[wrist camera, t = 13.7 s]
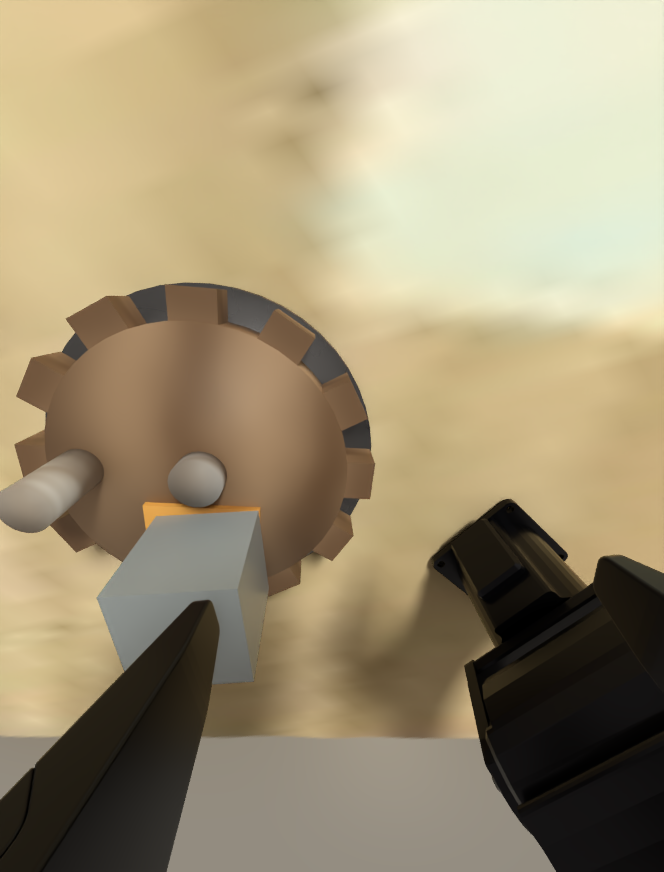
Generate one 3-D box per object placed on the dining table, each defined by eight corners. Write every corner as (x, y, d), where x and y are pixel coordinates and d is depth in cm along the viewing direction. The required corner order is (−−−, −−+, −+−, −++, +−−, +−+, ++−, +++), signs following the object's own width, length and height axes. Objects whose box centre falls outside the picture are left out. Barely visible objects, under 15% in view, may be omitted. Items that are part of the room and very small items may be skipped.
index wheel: (388, 303, 16) (422, 306, 11) (351, 582, 22) (362, 667, 17) (7, 270, 15) (-154, 256, 10) (78, 574, 21) (2, 662, 16)
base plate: (431, 439, 20) (434, 443, 19) (244, 610, 24) (243, 617, 23) (173, 193, 15) (168, 189, 14) (-5, 460, 19) (-14, 465, 18)
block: (258, 510, 17) (237, 588, 13) (268, 588, 19) (254, 681, 14) (155, 516, 17) (96, 597, 12) (176, 593, 19) (131, 690, 14)
